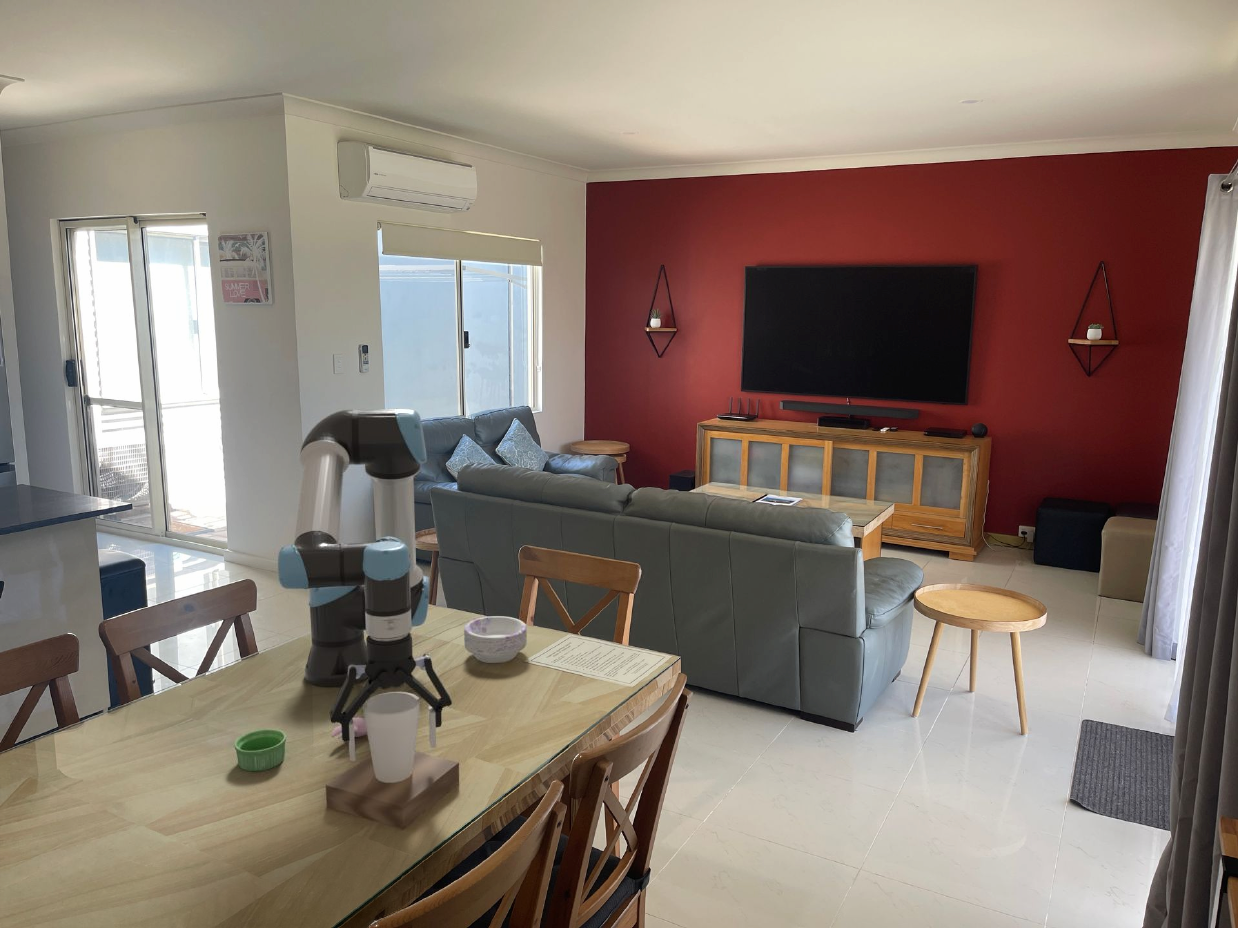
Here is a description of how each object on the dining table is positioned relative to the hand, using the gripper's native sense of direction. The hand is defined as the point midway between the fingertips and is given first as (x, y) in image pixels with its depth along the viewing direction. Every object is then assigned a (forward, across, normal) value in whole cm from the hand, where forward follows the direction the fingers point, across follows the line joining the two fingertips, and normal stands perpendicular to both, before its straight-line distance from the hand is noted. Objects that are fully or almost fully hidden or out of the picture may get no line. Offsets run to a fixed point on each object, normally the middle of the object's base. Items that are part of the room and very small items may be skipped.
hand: (393, 750), depth 153 cm
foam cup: (+4, 0, 0) cm, 4 cm away
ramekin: (+9, -22, +20) cm, 31 cm away
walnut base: (+8, 0, 0) cm, 8 cm away
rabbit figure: (+9, -3, +25) cm, 27 cm away
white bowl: (+8, +31, +57) cm, 65 cm away
